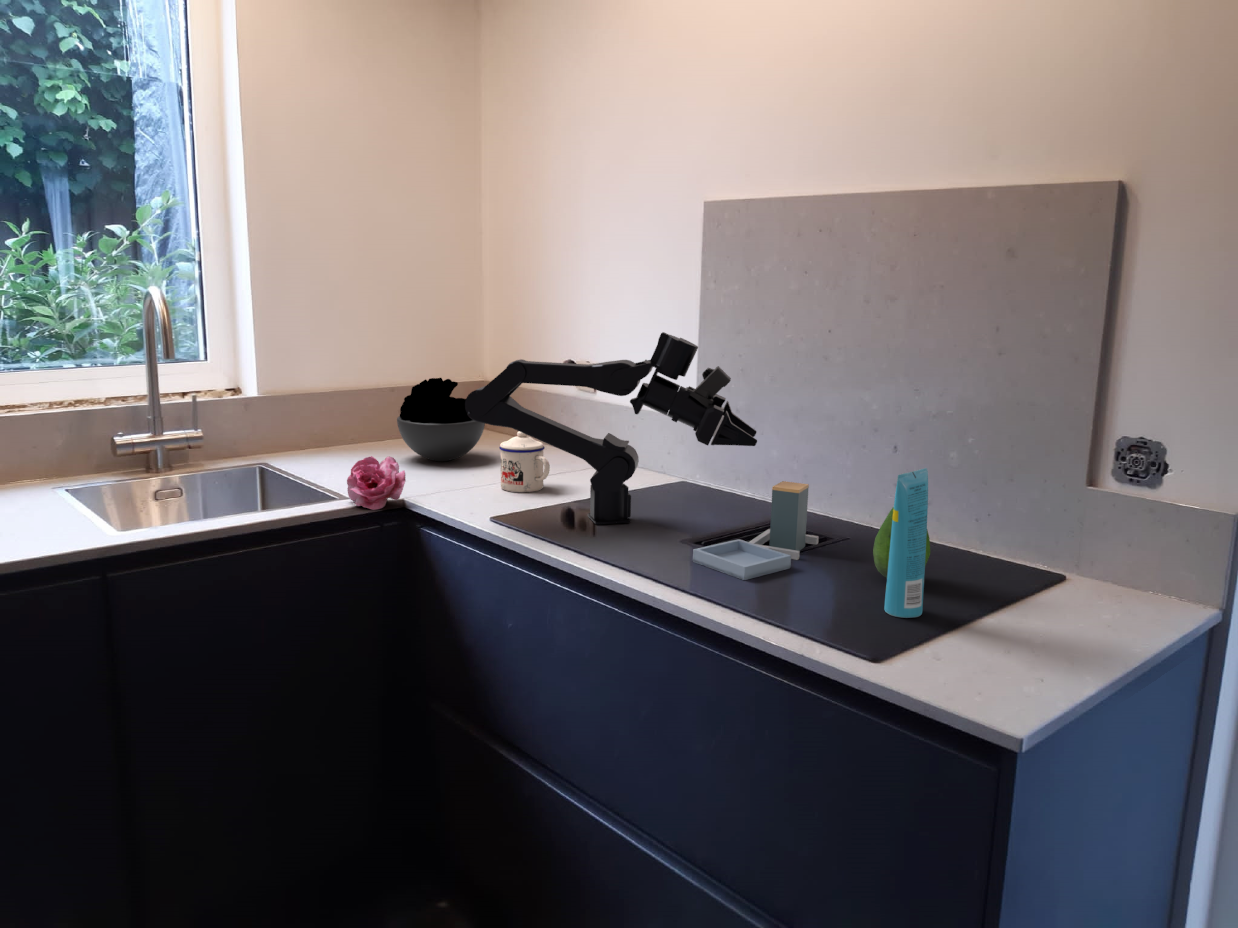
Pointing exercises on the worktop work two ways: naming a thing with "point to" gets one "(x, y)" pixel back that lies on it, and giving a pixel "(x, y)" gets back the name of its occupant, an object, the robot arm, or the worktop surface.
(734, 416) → the robot arm
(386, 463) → the flower
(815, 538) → the frame
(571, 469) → the worktop surface
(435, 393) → the bowl of black rocks
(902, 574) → the tube
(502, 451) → the teacup with lid
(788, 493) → the block
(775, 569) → the tray
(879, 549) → the avocado
